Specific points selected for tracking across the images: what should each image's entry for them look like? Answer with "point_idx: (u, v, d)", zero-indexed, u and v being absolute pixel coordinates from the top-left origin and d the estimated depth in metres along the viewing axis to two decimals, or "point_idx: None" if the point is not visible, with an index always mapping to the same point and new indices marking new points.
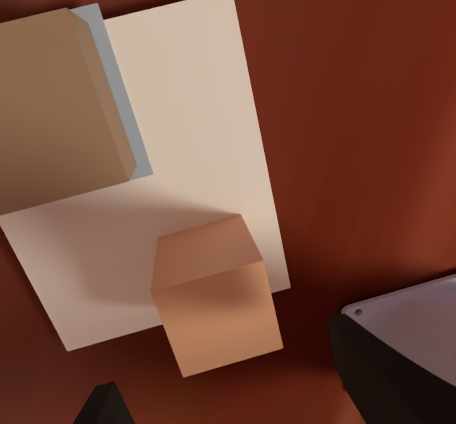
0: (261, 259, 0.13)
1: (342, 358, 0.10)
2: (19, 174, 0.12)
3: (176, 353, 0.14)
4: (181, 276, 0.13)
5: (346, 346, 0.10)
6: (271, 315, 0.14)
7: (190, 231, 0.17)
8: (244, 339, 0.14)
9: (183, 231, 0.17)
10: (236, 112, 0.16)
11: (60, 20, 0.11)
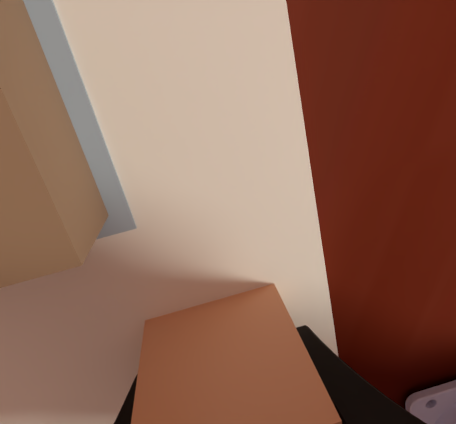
0: (336, 417, 0.07)
1: None
2: None
3: None
4: None
5: None
6: None
7: (196, 313, 0.11)
8: None
9: (184, 312, 0.11)
10: (272, 128, 0.10)
11: None
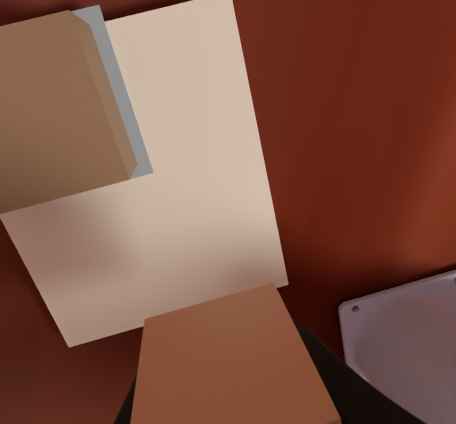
0: (335, 414, 0.07)
1: None
2: (22, 172, 0.13)
3: None
4: None
5: None
6: None
7: (195, 312, 0.11)
8: None
9: (184, 310, 0.11)
10: (235, 112, 0.16)
11: (63, 22, 0.11)
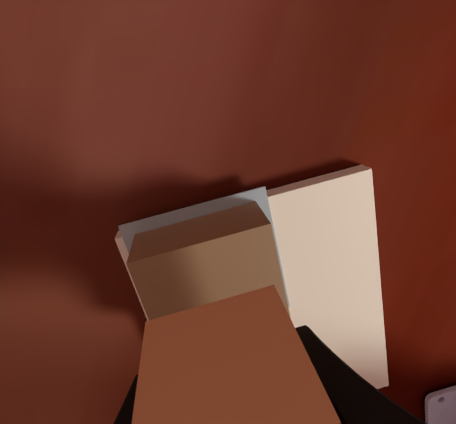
0: (335, 418, 0.07)
1: None
2: None
3: None
4: None
5: None
6: None
7: (196, 315, 0.11)
8: None
9: (185, 313, 0.11)
10: (362, 256, 0.19)
11: (265, 232, 0.14)
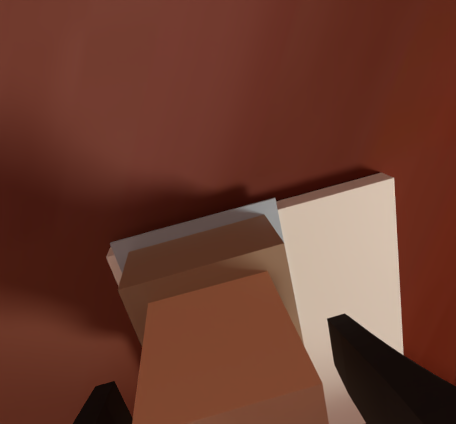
0: (318, 380, 0.08)
1: (342, 358, 0.10)
2: None
3: None
4: (182, 405, 0.08)
5: (346, 346, 0.10)
6: None
7: (195, 297, 0.12)
8: None
9: (185, 296, 0.12)
10: (381, 274, 0.17)
11: (277, 253, 0.12)
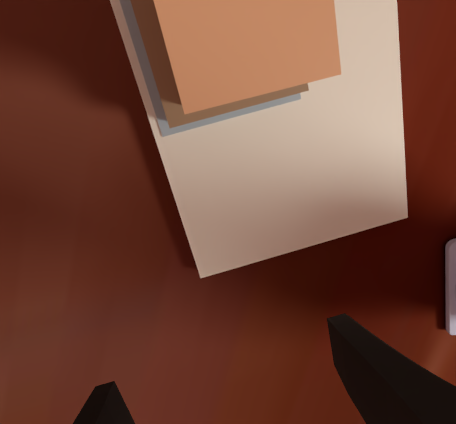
0: None
1: (342, 358, 0.10)
2: None
3: (173, 61, 0.09)
4: None
5: (346, 346, 0.10)
6: (326, 0, 0.09)
7: None
8: (282, 46, 0.09)
9: None
10: (381, 38, 0.17)
11: None
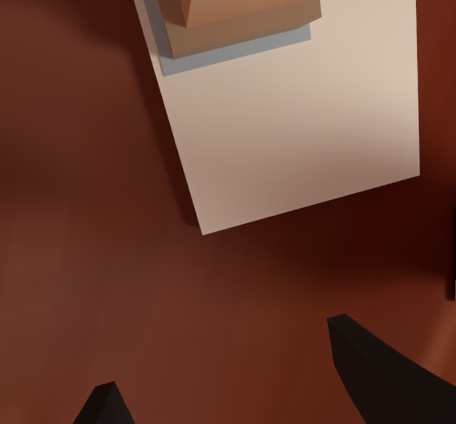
0: None
1: (342, 358, 0.10)
2: None
3: None
4: None
5: (346, 346, 0.10)
6: None
7: None
8: None
9: None
10: None
11: None
